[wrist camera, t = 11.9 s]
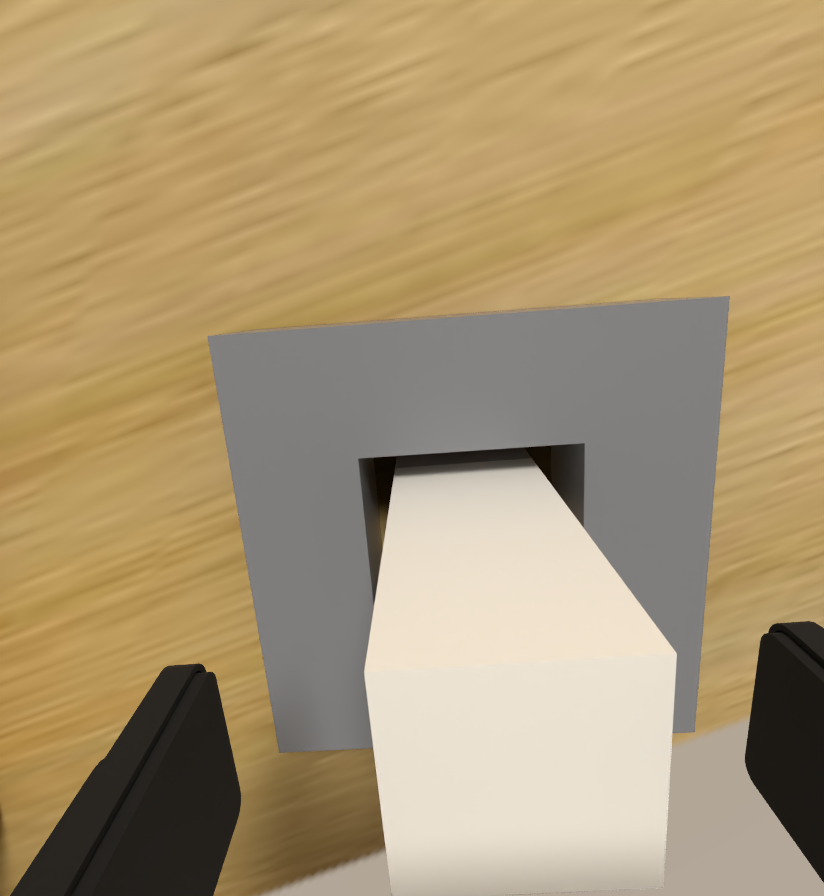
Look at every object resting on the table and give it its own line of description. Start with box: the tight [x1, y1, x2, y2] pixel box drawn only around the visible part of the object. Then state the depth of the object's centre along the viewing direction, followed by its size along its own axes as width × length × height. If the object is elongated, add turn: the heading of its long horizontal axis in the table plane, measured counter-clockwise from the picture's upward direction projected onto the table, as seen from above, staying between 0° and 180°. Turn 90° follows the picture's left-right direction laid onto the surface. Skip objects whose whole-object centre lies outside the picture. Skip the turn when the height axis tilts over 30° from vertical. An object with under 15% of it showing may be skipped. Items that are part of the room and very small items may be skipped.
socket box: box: [208, 296, 730, 753], centre depth 18 cm, size 14×14×4 cm
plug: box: [364, 447, 677, 896], centre depth 14 cm, size 4×4×12 cm
